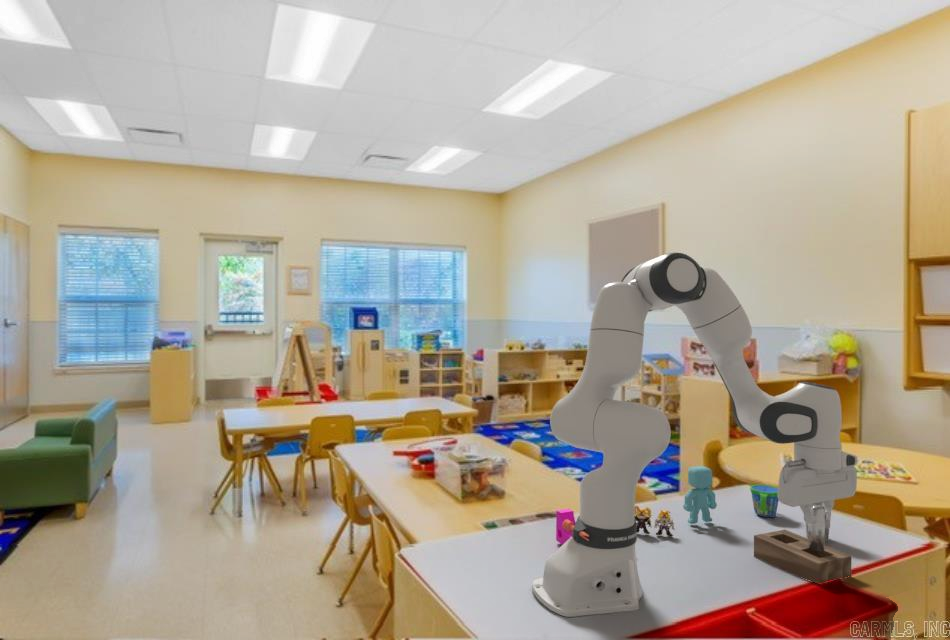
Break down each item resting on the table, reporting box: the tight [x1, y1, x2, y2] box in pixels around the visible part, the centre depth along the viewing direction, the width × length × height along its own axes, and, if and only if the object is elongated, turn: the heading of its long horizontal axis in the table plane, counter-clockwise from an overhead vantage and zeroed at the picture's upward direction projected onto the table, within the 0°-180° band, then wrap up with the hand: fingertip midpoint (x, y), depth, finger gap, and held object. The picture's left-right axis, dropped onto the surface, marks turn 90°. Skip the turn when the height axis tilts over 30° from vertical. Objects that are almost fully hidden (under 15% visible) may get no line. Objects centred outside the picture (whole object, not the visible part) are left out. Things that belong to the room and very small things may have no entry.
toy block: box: [555, 508, 576, 546], centre depth 134 cm, size 15×6×8 cm, turn 22°
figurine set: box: [634, 505, 676, 538], centre depth 145 cm, size 3×16×7 cm, turn 74°
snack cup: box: [749, 484, 780, 518], centre depth 158 cm, size 11×8×7 cm
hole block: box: [753, 529, 852, 584], centre depth 124 cm, size 10×16×5 cm, turn 22°
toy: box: [682, 465, 718, 525], centre depth 152 cm, size 10×5×15 cm, turn 107°
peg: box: [807, 505, 826, 551], centre depth 120 cm, size 3×3×9 cm
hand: (817, 521), depth 120 cm, fingers closed on peg, 3 cm apart
